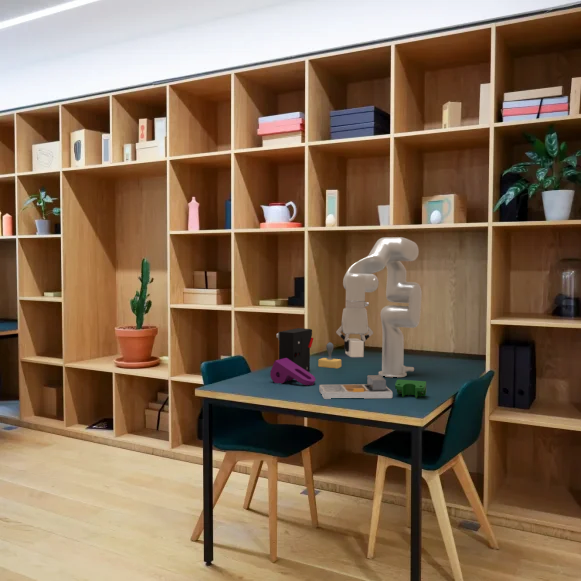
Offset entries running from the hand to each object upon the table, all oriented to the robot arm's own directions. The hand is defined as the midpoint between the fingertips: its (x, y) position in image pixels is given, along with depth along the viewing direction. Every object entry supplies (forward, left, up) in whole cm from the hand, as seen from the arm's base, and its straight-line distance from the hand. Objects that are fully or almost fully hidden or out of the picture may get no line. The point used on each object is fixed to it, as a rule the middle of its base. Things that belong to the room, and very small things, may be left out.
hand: (354, 350), depth 245 cm
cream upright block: (0, 0, -2) cm, 2 cm away
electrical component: (+20, -39, -17) cm, 47 cm away
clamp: (-20, +10, -17) cm, 28 cm away
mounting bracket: (+22, -19, -17) cm, 33 cm away
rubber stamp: (+1, -57, -17) cm, 59 cm away
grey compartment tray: (+1, +5, -16) cm, 17 cm away
